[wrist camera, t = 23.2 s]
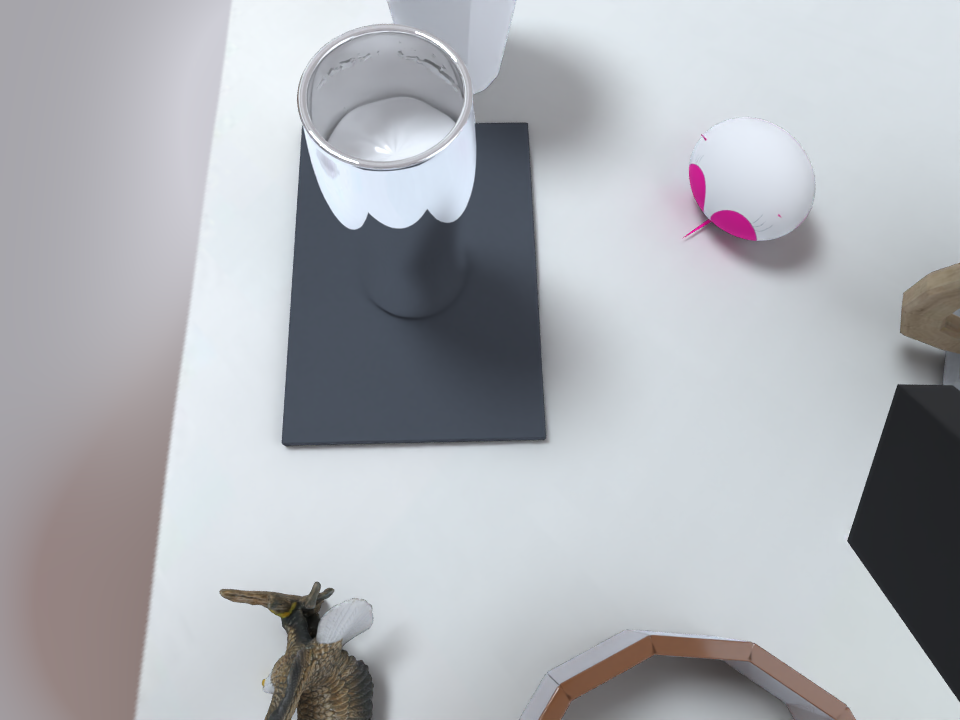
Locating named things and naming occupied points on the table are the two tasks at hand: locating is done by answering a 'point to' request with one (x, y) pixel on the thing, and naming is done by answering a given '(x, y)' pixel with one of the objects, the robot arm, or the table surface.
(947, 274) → the tankard
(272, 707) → the eagle figurine
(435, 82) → the beer glass
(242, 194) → the table surface
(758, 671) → the brown ring
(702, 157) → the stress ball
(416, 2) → the foam cup
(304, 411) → the mat
